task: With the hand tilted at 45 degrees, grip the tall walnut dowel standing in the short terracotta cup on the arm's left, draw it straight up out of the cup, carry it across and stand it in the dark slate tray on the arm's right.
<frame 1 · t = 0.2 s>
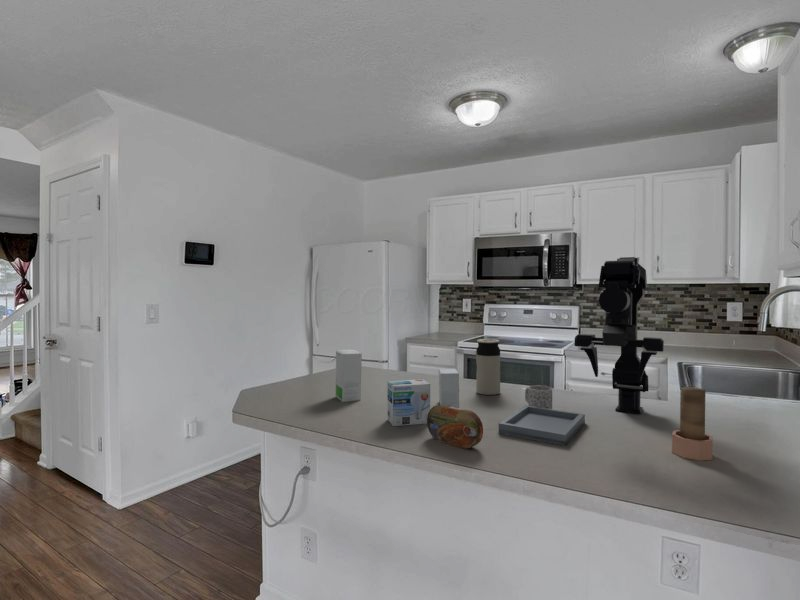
hand: (617, 378, 107), 14 cm above the counter, tool pointing down, fingers open, 9 cm apart
travel mug: (488, 393, 153), on the counter
mug: (536, 409, 133), on the counter
slate tray: (543, 428, 115), on the counter
light bulb box: (408, 422, 121), on the counter
skincare box: (348, 399, 147), on the counter
terracotta cup: (691, 453, 97), on the counter
walnut dowel: (692, 421, 97), in the terracotta cup
tin: (454, 444, 105), on the counter
small box: (448, 405, 138), on the counter
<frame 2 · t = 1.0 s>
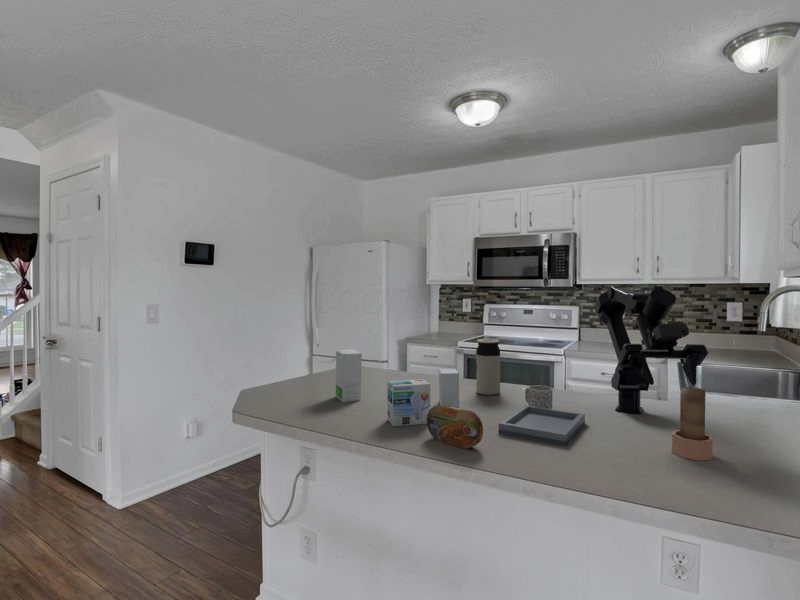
hand: (673, 384, 105), 13 cm above the counter, tool tilted 45°, fingers open, 9 cm apart
nothing on the counter moved.
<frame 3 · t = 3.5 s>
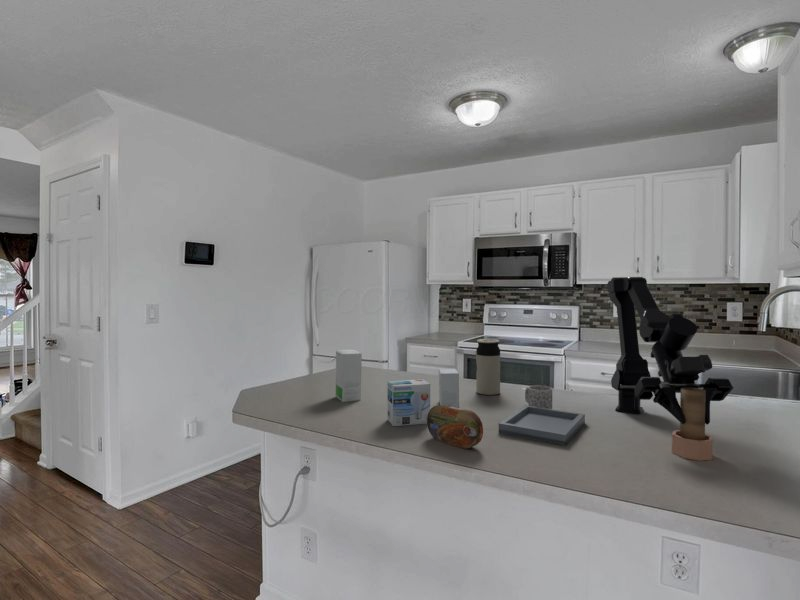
hand: (695, 423, 95), 7 cm above the counter, tool tilted 45°, fingers closed on walnut dowel, 4 cm apart
walnut dowel: (692, 421, 97), in the terracotta cup, touching gripper
everything else where it was.
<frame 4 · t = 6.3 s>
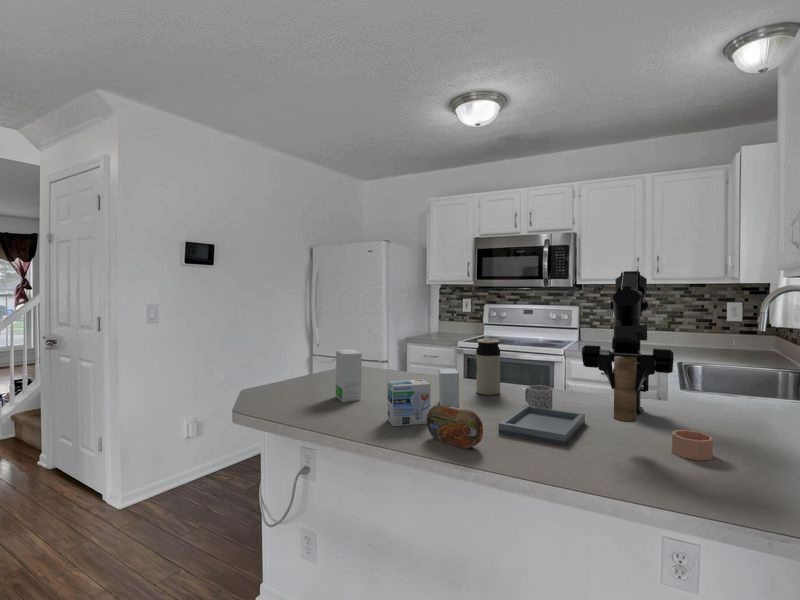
hand: (624, 389, 99), 14 cm above the counter, tool tilted 45°, fingers closed on walnut dowel, 4 cm apart
walnut dowel: (625, 388, 100), point 13 cm above the counter, touching gripper
everything else where it was.
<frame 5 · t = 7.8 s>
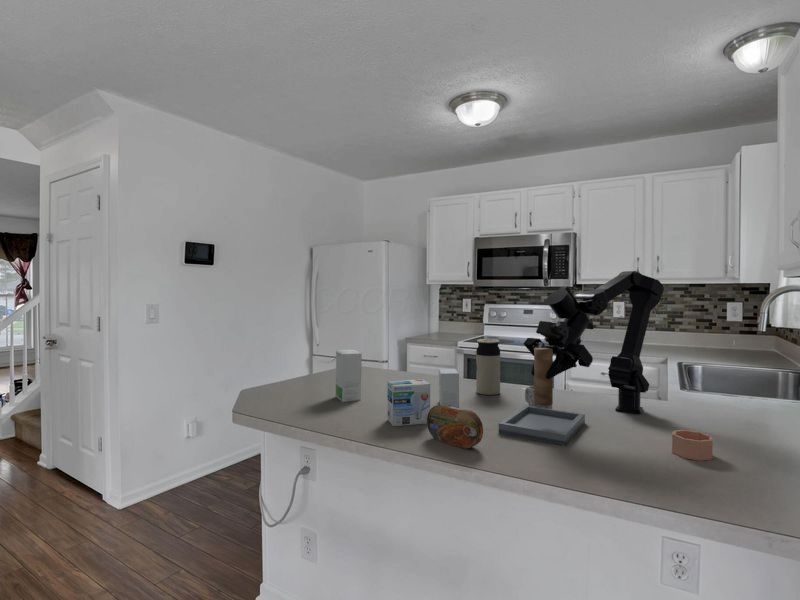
hand: (539, 376, 114), 13 cm above the counter, tool tilted 45°, fingers closed on walnut dowel, 4 cm apart
walnut dowel: (543, 376, 114), point 13 cm above the counter, touching gripper
everything else where it was.
when the fingers open (10 cm above the counter, at t = 9.0 s): walnut dowel drops 1 cm, resting on slate tray.
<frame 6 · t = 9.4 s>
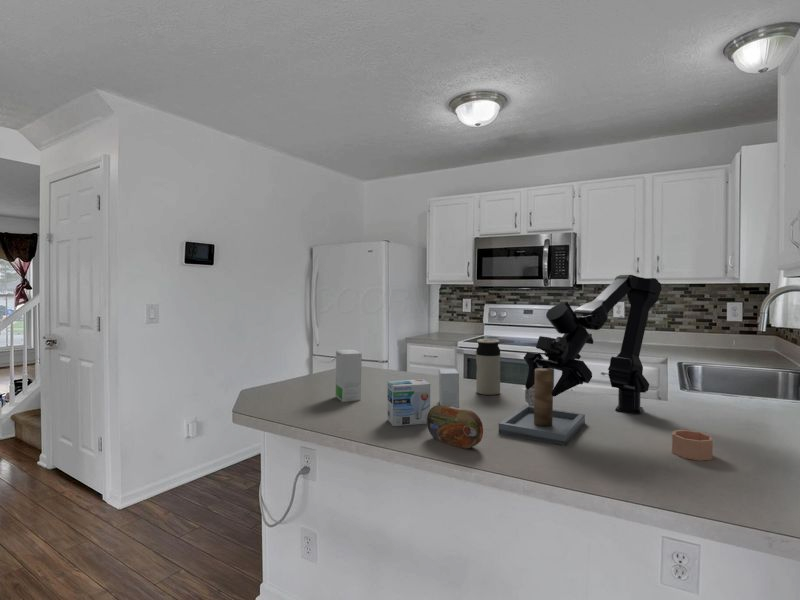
hand: (539, 391, 114), 10 cm above the counter, tool tilted 45°, fingers open, 9 cm apart
walnut dowel: (543, 397, 115), in the slate tray, point 8 cm above the counter
everything else where it was.
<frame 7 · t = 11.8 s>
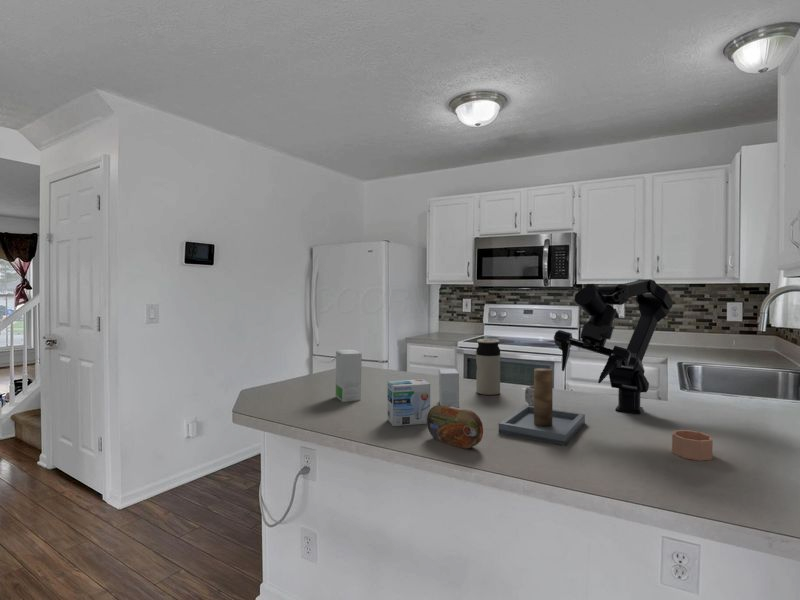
hand: (580, 376, 117), 13 cm above the counter, tool tilted 35°, fingers open, 9 cm apart
nothing on the counter moved.
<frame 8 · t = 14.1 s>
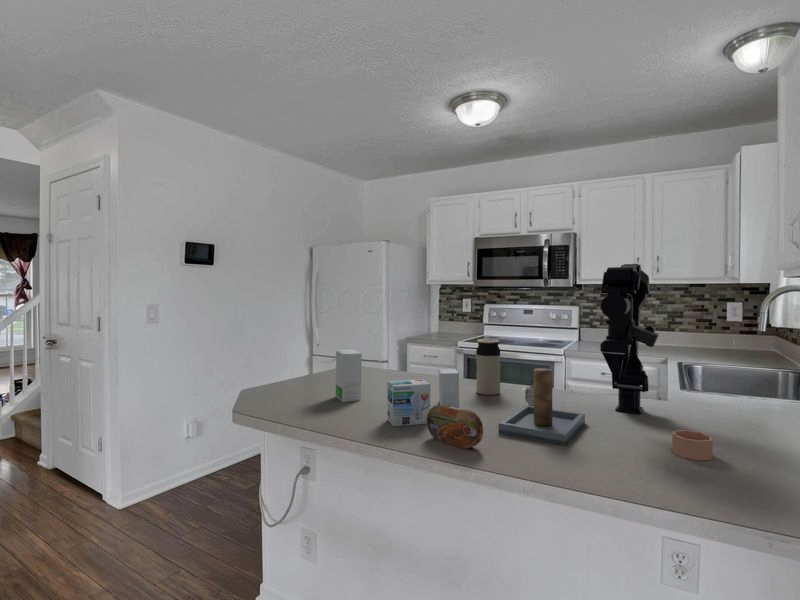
hand: (619, 376, 115), 13 cm above the counter, tool pointing down, fingers open, 9 cm apart
nothing on the counter moved.
at the end: walnut dowel inside the target area on the slate tray (0.0 cm from its centre), point 8.0 cm above the slate tray's base; walnut dowel tilted 0°; the gripper is holding nothing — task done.
